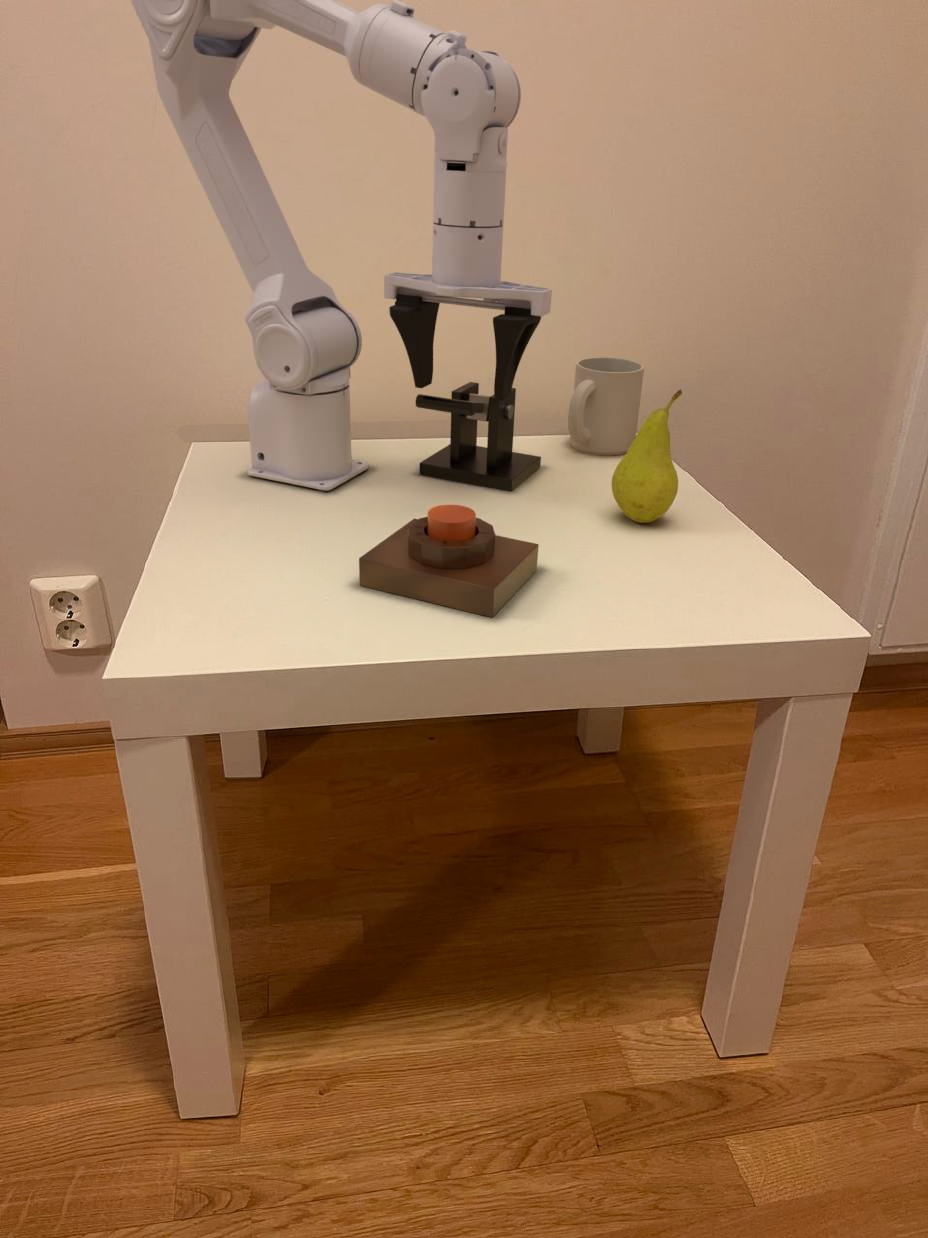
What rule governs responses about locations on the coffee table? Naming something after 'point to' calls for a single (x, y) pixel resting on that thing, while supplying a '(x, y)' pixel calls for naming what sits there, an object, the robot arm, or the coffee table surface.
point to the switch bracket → (482, 448)
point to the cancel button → (451, 523)
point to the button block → (450, 567)
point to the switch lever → (457, 405)
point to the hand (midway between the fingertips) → (462, 391)
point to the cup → (605, 405)
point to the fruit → (647, 471)
